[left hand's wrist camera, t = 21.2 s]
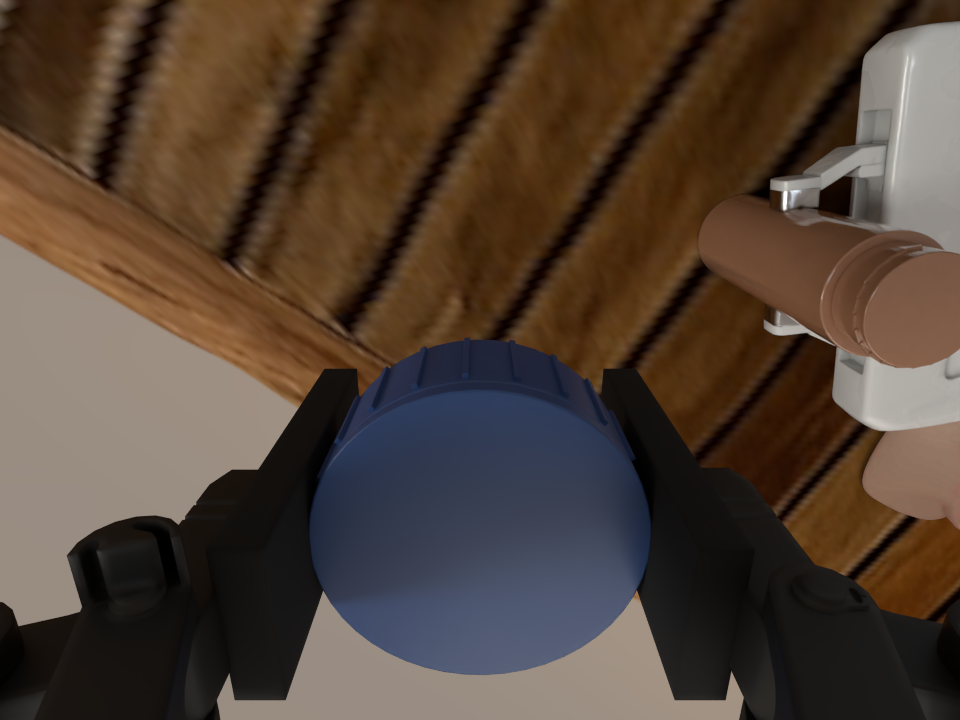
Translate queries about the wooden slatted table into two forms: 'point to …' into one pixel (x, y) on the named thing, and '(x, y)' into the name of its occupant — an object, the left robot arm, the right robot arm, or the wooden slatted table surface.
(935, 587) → the wooden slatted table surface
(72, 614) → the left robot arm
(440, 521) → the lid
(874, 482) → the anatomical model
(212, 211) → the wooden slatted table surface
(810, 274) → the jar
